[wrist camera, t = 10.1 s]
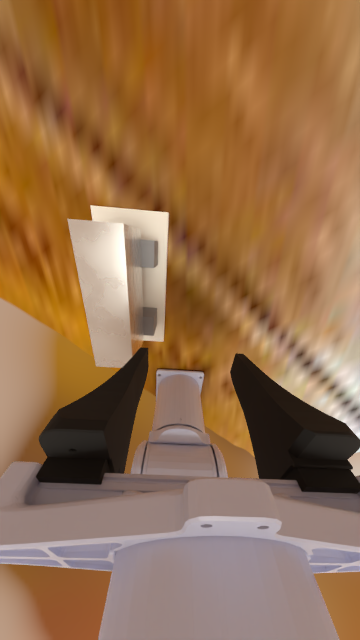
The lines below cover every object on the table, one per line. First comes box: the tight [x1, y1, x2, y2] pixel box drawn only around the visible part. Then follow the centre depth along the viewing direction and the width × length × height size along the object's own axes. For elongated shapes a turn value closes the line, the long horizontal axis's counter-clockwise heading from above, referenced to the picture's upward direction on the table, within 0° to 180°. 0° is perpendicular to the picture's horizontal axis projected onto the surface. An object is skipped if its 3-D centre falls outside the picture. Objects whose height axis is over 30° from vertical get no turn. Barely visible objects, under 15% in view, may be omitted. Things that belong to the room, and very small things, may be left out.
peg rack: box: [90, 205, 169, 342], centre depth 19 cm, size 16×8×4 cm, turn 175°
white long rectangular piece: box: [68, 219, 144, 368], centre depth 15 cm, size 12×4×5 cm, turn 176°
